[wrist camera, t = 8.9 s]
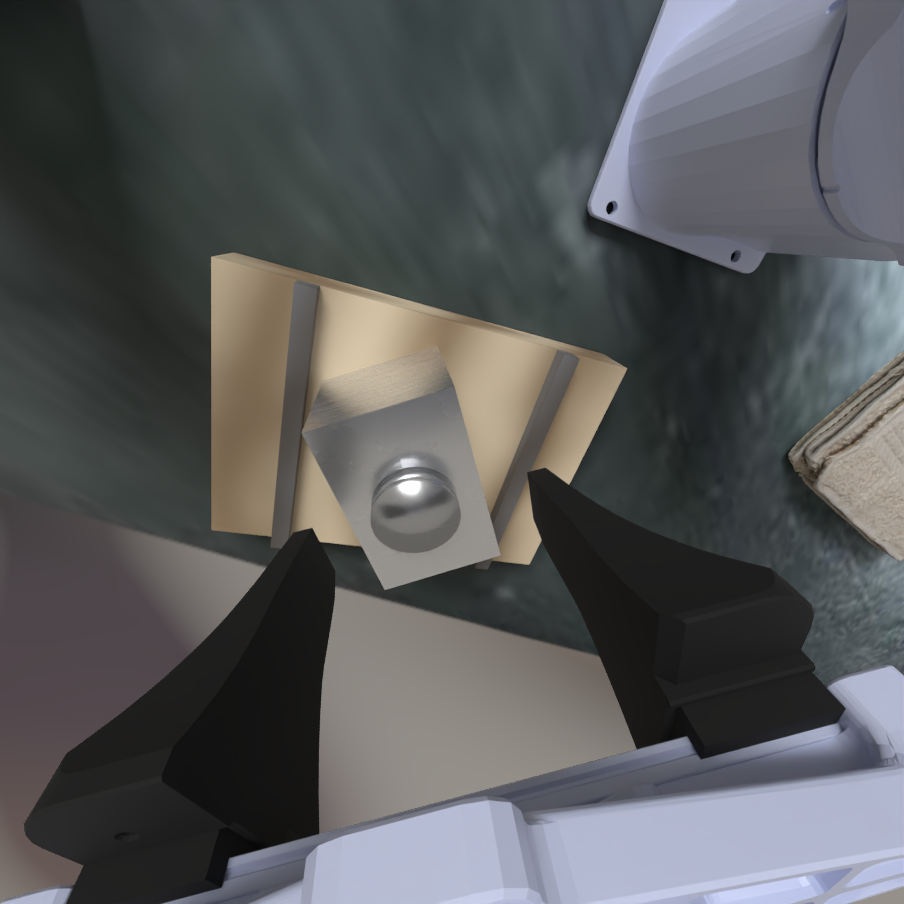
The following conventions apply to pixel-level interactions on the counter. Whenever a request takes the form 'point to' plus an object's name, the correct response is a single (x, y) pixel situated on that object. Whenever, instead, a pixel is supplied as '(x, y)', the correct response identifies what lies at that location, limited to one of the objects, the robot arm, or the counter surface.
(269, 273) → the stand
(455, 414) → the block
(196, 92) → the counter surface
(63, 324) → the counter surface
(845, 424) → the washcloth
